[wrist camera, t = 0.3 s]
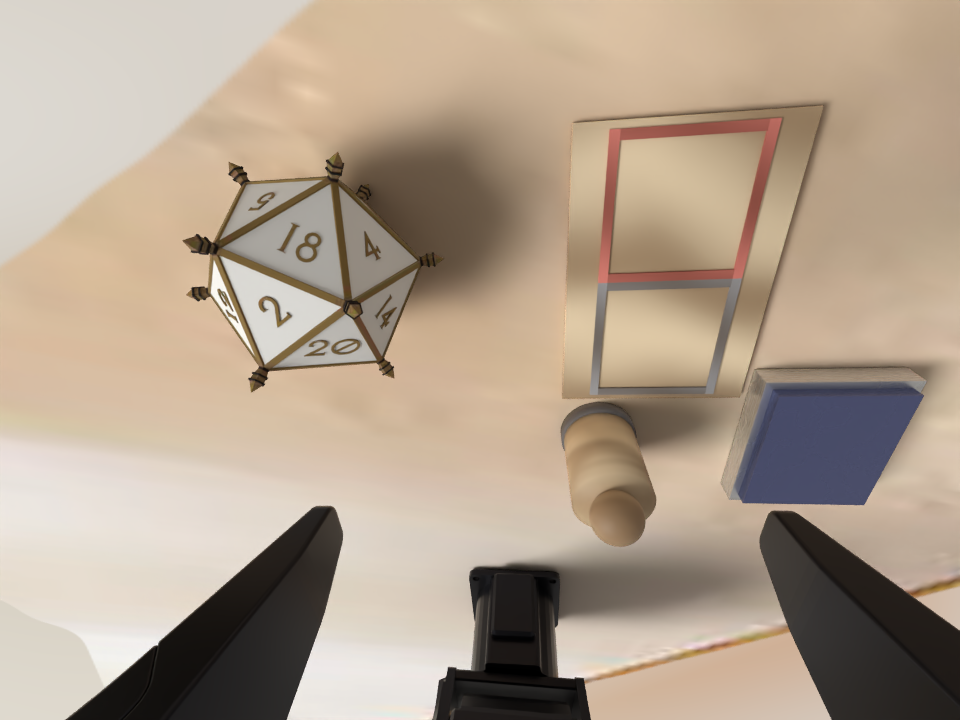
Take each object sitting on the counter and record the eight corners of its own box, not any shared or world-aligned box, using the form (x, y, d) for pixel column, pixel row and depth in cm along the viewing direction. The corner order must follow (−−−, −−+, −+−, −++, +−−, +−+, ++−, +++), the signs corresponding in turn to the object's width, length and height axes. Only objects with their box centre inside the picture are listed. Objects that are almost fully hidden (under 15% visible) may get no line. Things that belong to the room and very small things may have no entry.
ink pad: (847, 485, 25) (869, 510, 24) (720, 483, 26) (733, 507, 24) (907, 367, 21) (937, 388, 20) (754, 369, 22) (772, 389, 20)
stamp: (629, 457, 25) (663, 571, 19) (559, 457, 26) (572, 568, 20) (637, 402, 23) (678, 509, 17) (561, 402, 24) (576, 507, 18)
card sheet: (737, 393, 23) (740, 398, 22) (562, 395, 24) (562, 399, 23) (819, 105, 16) (825, 105, 16) (572, 122, 17) (573, 123, 17)
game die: (403, 208, 23) (518, 239, 15) (346, 355, 24) (426, 450, 17) (210, 108, 17) (241, 78, 10) (149, 307, 19) (134, 418, 11)
